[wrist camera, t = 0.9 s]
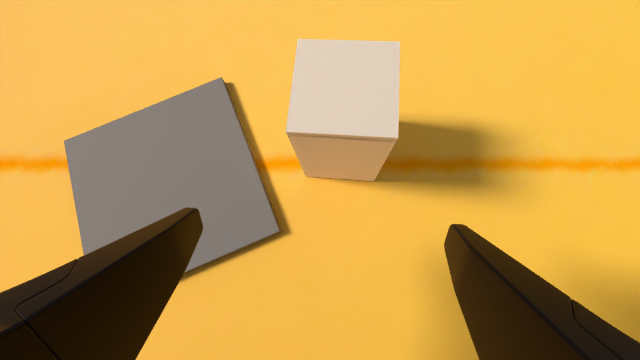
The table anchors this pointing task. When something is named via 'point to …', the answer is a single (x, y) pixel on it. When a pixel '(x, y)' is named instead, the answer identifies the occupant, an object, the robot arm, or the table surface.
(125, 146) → the mat
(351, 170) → the white tall block
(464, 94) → the table surface
